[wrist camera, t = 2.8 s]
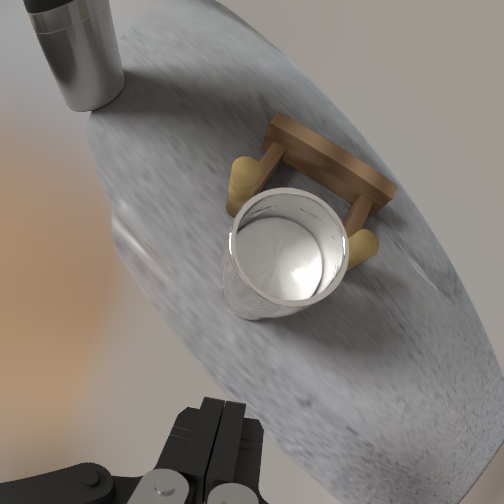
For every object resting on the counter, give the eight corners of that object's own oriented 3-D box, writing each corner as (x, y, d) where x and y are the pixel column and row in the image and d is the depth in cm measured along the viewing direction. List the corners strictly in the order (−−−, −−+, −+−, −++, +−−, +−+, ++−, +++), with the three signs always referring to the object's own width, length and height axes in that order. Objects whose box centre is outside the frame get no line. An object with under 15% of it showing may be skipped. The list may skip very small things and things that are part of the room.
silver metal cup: (202, 286, 30) (196, 236, 15) (254, 241, 32) (290, 162, 17) (251, 339, 29) (291, 340, 15) (302, 291, 31) (375, 250, 17)
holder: (217, 208, 32) (220, 168, 25) (269, 138, 36) (283, 93, 28) (340, 283, 32) (377, 265, 24) (376, 204, 35) (411, 172, 27)
